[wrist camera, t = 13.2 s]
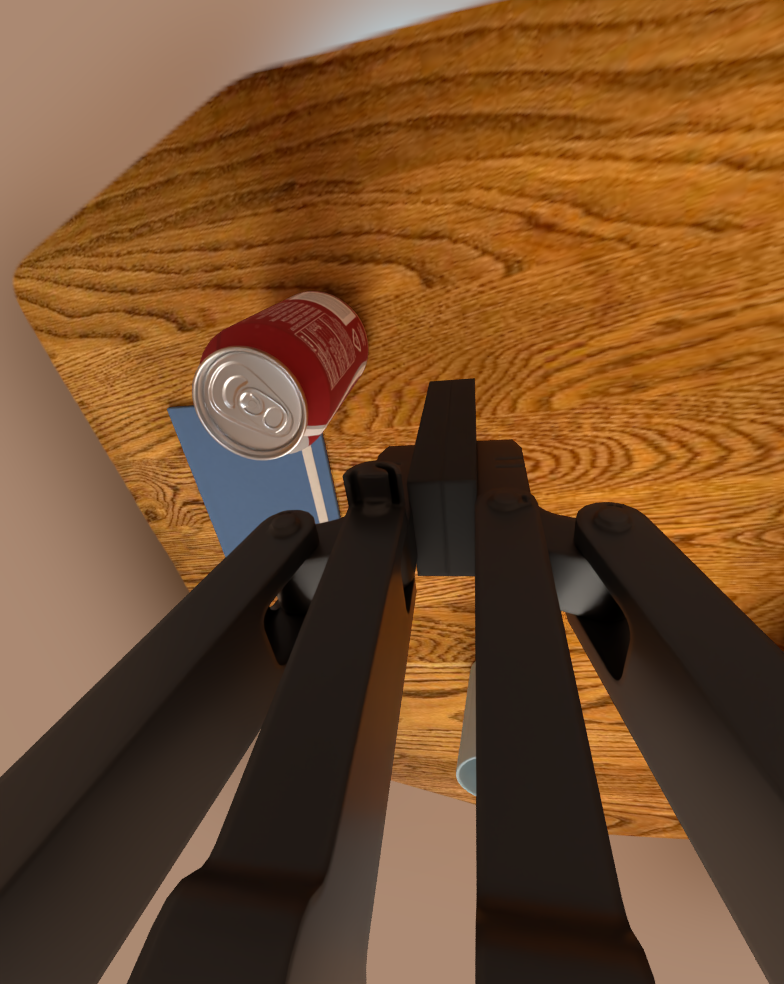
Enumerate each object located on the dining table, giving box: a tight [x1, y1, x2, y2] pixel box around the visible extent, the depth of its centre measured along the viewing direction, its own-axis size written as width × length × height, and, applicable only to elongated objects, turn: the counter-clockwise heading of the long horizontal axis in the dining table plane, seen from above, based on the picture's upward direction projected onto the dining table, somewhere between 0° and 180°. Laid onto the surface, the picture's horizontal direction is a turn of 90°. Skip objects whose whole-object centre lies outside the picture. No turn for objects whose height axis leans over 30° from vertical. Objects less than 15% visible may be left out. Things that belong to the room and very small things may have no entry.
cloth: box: [167, 406, 341, 557], centre depth 38 cm, size 16×12×1 cm
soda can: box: [192, 291, 369, 460], centre depth 26 cm, size 7×7×12 cm
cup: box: [456, 661, 476, 796], centre depth 42 cm, size 8×8×10 cm
